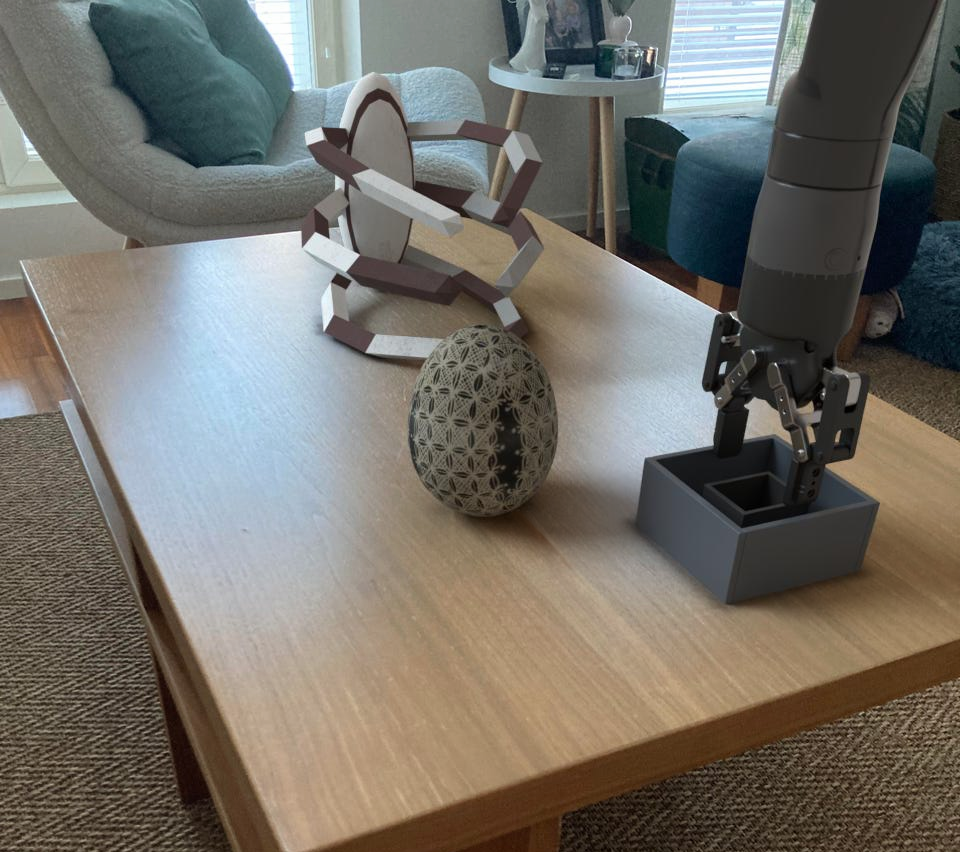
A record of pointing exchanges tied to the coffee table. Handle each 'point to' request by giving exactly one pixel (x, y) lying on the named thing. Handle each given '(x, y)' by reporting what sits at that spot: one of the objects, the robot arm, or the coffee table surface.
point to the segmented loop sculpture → (408, 216)
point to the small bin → (751, 499)
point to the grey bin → (757, 549)
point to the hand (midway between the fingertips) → (759, 479)
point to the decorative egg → (482, 422)
